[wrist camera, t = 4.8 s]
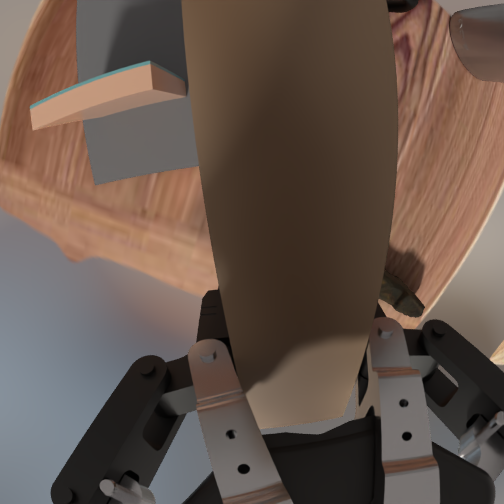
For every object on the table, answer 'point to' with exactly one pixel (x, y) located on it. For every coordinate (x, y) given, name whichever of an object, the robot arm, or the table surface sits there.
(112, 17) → the rubber mat
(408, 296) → the hand tool
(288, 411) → the tan wooden bar
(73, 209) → the table surface
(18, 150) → the table surface
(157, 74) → the tile
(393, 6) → the mug
